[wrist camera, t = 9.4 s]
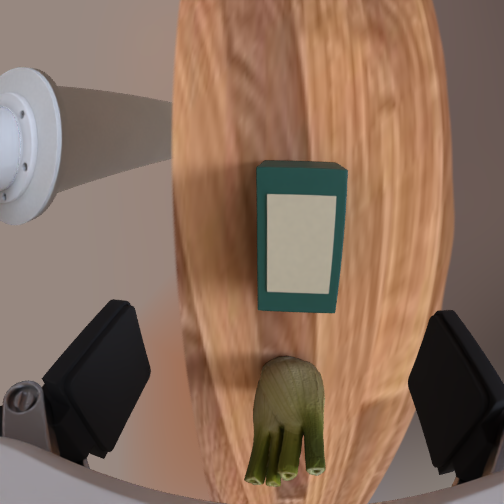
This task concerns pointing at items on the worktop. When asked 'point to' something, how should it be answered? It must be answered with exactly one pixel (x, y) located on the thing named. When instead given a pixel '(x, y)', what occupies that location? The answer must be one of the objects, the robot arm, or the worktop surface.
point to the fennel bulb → (287, 422)
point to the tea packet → (300, 234)
